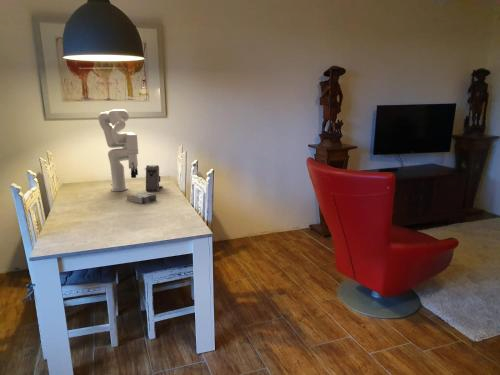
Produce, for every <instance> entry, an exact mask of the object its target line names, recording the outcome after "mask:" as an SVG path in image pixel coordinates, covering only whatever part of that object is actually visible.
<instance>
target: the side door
mask: <svg viewBox="0 0 500 375" xmlns="http://www.w3.org/2000/svg"><path fill="white" fill-rule="evenodd" d="M126 200H127V201H131V202H134V203H139V204H141V205H145V204H144V200H143V197H139V196H135V195H134V194H130V193H126Z"/></svg>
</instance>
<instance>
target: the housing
mask: <svg viewBox="0 0 500 375" xmlns="http://www.w3.org/2000/svg"><path fill="white" fill-rule="evenodd" d="M133 195H135V196H139V197H143V200H144V204H143V205H147V204H151V203H153V202H156V201H157V194H156V193H152V192H147V191H142V192H138V193H135V194H133Z"/></svg>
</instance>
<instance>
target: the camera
mask: <svg viewBox="0 0 500 375" xmlns="http://www.w3.org/2000/svg"><path fill="white" fill-rule="evenodd" d="M160 183H161V176H160V166H159V165H158V164H157V165H155V164H154V165H153V164H151V165H146V167H145V192H149V193H152V192H157V193H158V192H159V190H160V188H163V186H162V185H160Z"/></svg>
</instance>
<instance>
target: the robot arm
mask: <svg viewBox="0 0 500 375" xmlns="http://www.w3.org/2000/svg"><path fill="white" fill-rule="evenodd" d="M129 115H130V114H129V112H128V111H127V110H126V109H112V110H109V111H103V112H100V113H99V114H98V122H99V125H100V128H101V129H102V131H103V133H104V138H105V141H106V144H107V147H108V148H110V150H109V151H107V152H108V153H107V157H108V161H109V164H110V172H111V173H110V174H111V183H110V186H111V188H110V191H112V192H123V191H127V190H128V189H129V187H128V186H126V176H125V167H124V164H123V163H121V162H123V161H128V169H129V170H130V175H131V176H130V177H131V179H136V178H137V176H138V175H139V172H138V163H139V162H138V155H139V145H138V144H139V143H138V135H137V134H136V133H133V132H120V131H122V130H124V129H125V127H126V122H127V121H128V120H129V119H130V118H129V117H130V116H129Z"/></svg>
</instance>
